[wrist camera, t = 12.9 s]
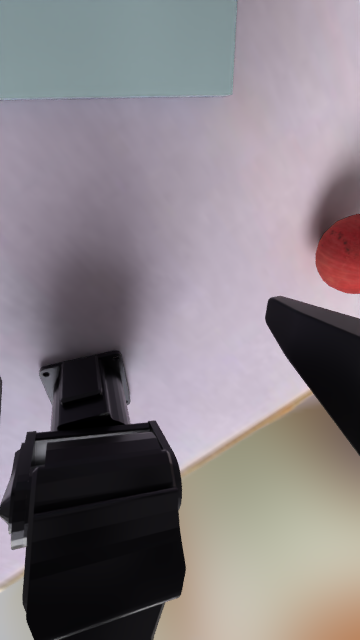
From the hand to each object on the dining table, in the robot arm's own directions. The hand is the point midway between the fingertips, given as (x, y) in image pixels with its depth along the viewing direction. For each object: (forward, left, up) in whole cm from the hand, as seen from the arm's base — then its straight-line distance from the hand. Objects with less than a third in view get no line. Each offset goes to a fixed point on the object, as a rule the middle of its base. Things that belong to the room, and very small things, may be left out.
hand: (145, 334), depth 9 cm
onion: (-3, -18, -12) cm, 22 cm away
